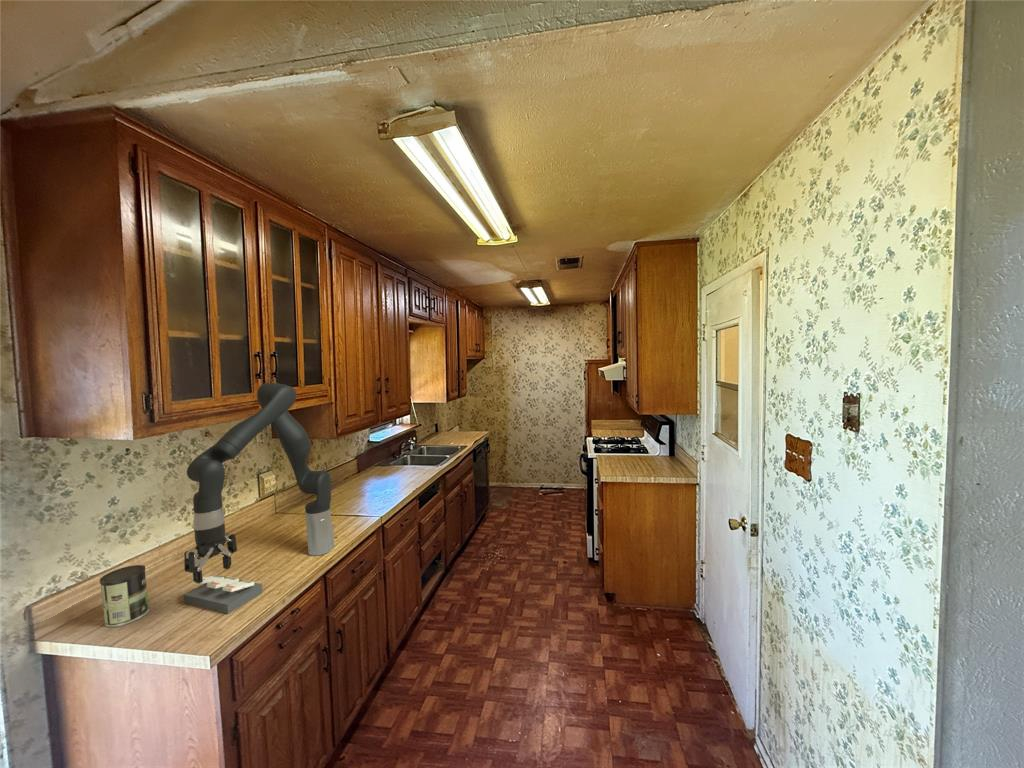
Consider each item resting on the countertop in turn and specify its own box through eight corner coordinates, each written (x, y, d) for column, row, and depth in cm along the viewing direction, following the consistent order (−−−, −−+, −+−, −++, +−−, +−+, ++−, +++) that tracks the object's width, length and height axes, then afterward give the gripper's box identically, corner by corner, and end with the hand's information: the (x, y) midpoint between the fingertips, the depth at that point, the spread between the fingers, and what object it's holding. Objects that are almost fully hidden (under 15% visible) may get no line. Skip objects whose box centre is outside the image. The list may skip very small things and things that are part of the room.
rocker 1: (214, 579, 143) (215, 575, 143) (223, 581, 141) (225, 577, 142) (191, 582, 135) (192, 578, 136) (200, 584, 134) (202, 580, 134)
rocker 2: (229, 580, 141) (230, 576, 141) (239, 582, 139) (239, 578, 139) (205, 587, 133) (206, 582, 133) (215, 589, 132) (216, 585, 132)
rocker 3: (244, 583, 138) (245, 579, 139) (254, 585, 137) (255, 581, 137) (221, 590, 131) (222, 586, 131) (231, 592, 129) (232, 588, 130)
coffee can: (146, 602, 135) (142, 561, 134) (151, 615, 128) (147, 571, 127) (102, 618, 127) (98, 574, 126) (105, 632, 120) (100, 586, 119)
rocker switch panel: (220, 583, 145) (219, 575, 145) (262, 592, 139) (262, 584, 139) (183, 603, 134) (183, 594, 134) (228, 614, 128) (227, 604, 127)
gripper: (223, 514, 133) (226, 562, 134) (175, 532, 120) (179, 585, 120) (240, 516, 131) (243, 565, 132) (193, 534, 117) (197, 589, 118)
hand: (213, 575), depth 126 cm, fingers open, 8 cm apart
